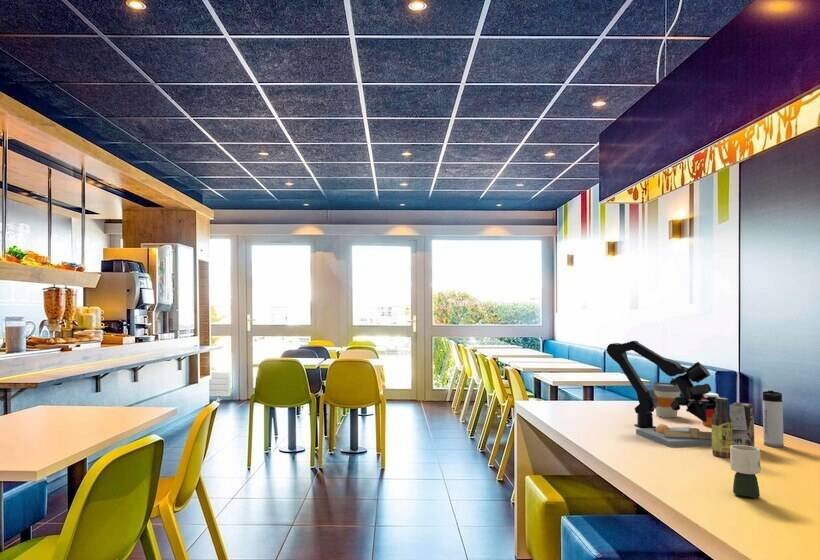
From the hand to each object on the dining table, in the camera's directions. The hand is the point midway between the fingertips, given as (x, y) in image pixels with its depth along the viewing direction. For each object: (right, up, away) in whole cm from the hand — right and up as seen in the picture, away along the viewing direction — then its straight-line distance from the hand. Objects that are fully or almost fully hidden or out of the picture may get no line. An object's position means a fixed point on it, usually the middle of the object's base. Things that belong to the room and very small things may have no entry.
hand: (705, 421), depth 216 cm
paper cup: (+16, -9, +26) cm, 32 cm away
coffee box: (+7, -7, -13) cm, 16 cm away
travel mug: (+21, -7, -8) cm, 24 cm away
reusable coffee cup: (+7, -10, +48) cm, 49 cm away
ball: (-15, -5, +4) cm, 16 cm away
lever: (-8, -4, -6) cm, 11 cm away
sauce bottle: (-7, -6, -23) cm, 25 cm away
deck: (-10, -7, +1) cm, 12 cm away
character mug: (-24, -4, -65) cm, 69 cm away
